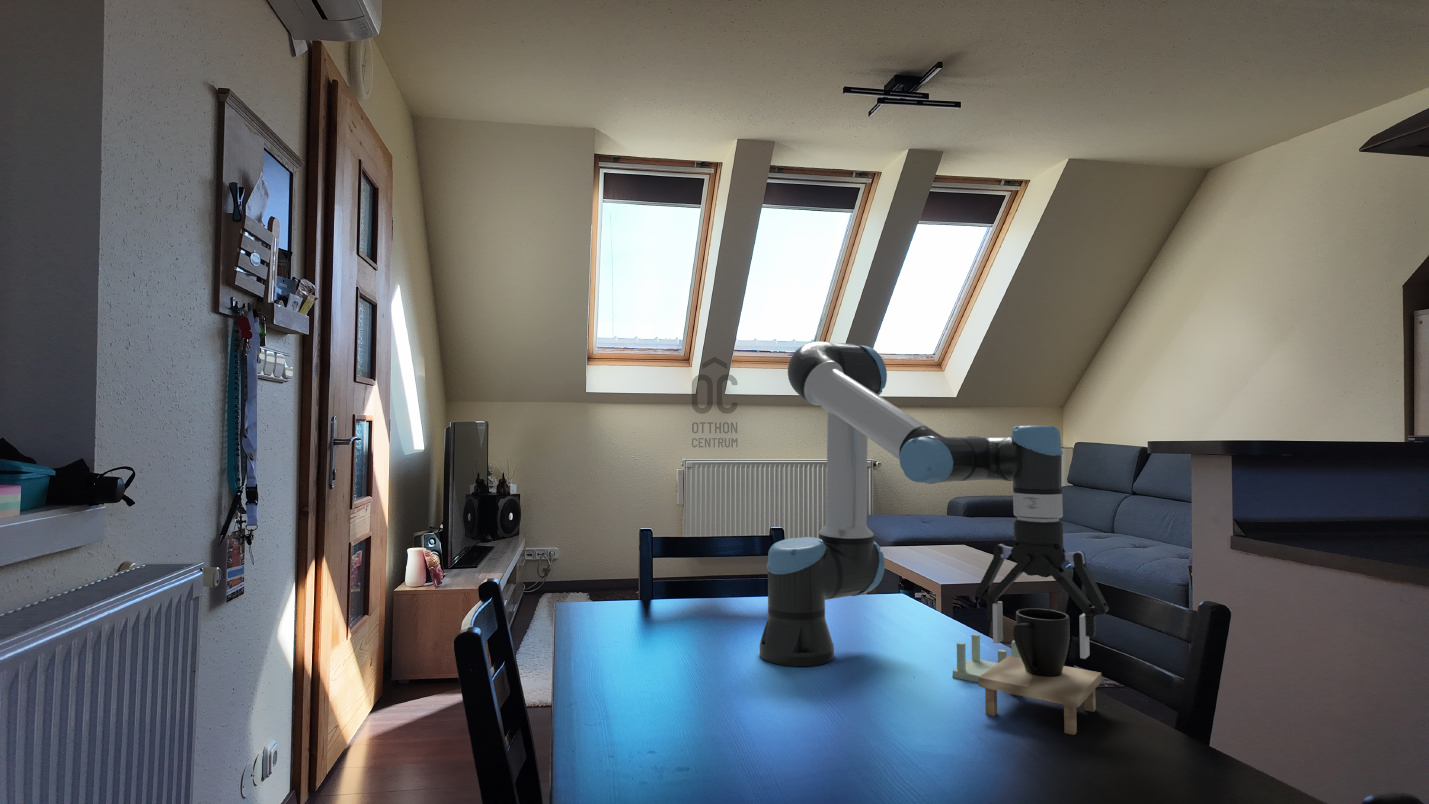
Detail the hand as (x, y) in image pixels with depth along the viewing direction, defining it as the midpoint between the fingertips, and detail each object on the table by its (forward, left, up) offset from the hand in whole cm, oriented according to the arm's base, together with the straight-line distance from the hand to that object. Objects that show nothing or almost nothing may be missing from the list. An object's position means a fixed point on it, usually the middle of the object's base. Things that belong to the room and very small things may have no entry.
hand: (1040, 648), depth 125 cm
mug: (-1, 0, -4) cm, 4 cm away
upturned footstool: (-13, +13, -10) cm, 21 cm away
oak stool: (0, 0, -10) cm, 10 cm away
